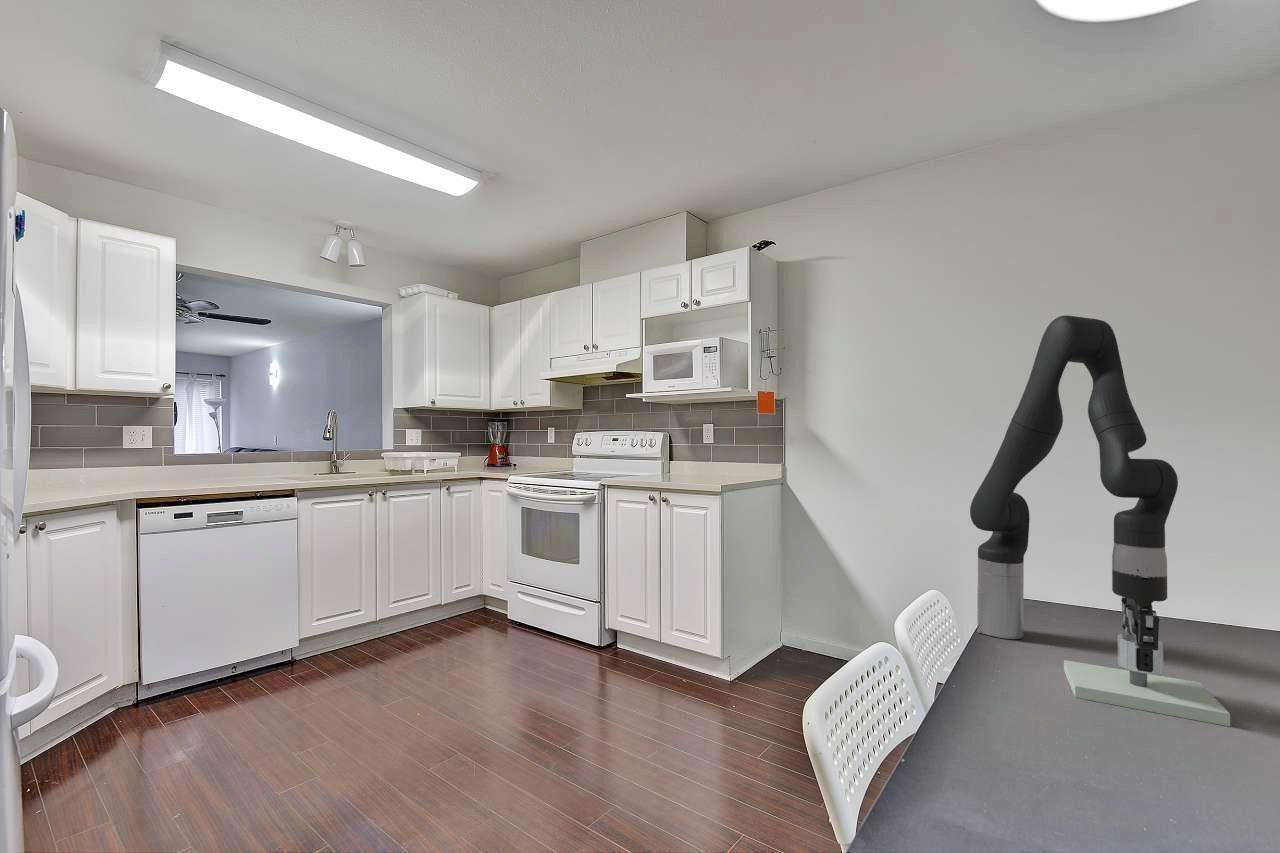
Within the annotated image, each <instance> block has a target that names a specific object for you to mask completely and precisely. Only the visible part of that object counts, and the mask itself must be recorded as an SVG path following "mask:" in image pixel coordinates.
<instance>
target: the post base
mask: <svg viewBox="0 0 1280 853" xmlns="http://www.w3.org/2000/svg"><path fill="white" fill-rule="evenodd" d="M1063 671H1064V673H1065V677H1066V678H1067V681H1068V683H1069V686H1070V688H1071V691H1072V693H1073V695H1074V698H1077V699H1081V700H1083V699H1084V700H1088V701H1093V702H1099V703H1103V704H1109V705H1114V706H1119V707H1124V708H1131V709H1135V710H1140V711H1146V712H1151V713H1157V714H1162V715H1167V716H1172V717H1178V718H1183V719H1189V720H1194V721H1199V722H1204V723H1210V724H1214V725H1215V724H1216V725H1219V726H1226V727H1231V714H1230V712H1229V711H1228V710H1227V709H1226V708H1225V706H1223V705H1222V703H1220V702H1219V701H1218V700H1217V698H1215V697H1214V696H1213V694H1212V693H1211V692H1210V691H1209V690H1208V689H1207V688H1206V687H1205V686H1204V685H1203V684H1202V682H1200V681H1199V682H1198V681H1193V680H1188V679H1180V678H1174V677H1170V676H1169V677H1168V676H1163V675H1159V674H1145V673H1139V672H1135V671H1132V670H1128V669H1126V670H1125V669H1122V668H1121V669H1120V668H1116V667H1115V668H1114V667H1107V666H1102V665H1097V664H1090V663H1083V662H1078V661H1072V660H1066V659H1064V660H1063Z"/></svg>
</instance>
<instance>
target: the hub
mask: <svg viewBox="0 0 1280 853" xmlns="http://www.w3.org/2000/svg"><path fill="white" fill-rule="evenodd" d="M1143 641H1145V642H1149V638H1148V637H1147V636H1144V637H1143ZM1158 647H1159V648H1158V651H1156V650H1155V651H1153V671H1152V672H1145V671H1139V670H1138V669H1137V668H1136V647H1135V638H1134V635H1132V634H1125V633H1120V634H1117V664H1118V666H1120V667H1122V668H1123V669H1126V670H1128V671H1130V670H1132V671H1135V672H1139V673H1145V674H1152V675H1162V674H1163V673H1164V643H1163V642H1162V641H1161V640H1159V639H1158Z"/></svg>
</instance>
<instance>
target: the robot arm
mask: <svg viewBox="0 0 1280 853" xmlns="http://www.w3.org/2000/svg"><path fill="white" fill-rule="evenodd" d="M1119 350H1120V349H1119V346H1118V342H1117V337H1116V335H1115V332H1114V330H1113V328H1112V326H1111V325H1110V324H1109V323H1108V322H1106V321H1104V320H1101V319H1098V318H1097V319H1096V318H1089V317H1082V316H1075V315H1066V314H1065V315H1060V316H1057V317H1056V318H1054V319H1053V320H1052V321H1051V322H1050V323H1049V324H1048V326H1047V328H1046V329H1045V331H1044V332H1043V335H1042V336H1041V340H1040V342H1039V346H1038V350H1037V352H1036V356H1035V359H1034V361H1033V366H1032V368H1031V372H1030V375H1029V378H1028V381H1027V383H1026V386H1025V387H1024V391H1023V394H1022V395H1021V398H1020V401H1019V402H1018V405H1017V407H1016V409H1015V411H1014V414H1013V416H1012V418H1011V421H1010V423H1009V425H1008V427H1007V429H1006V431H1005V435H1004V438H1003V439H1002V442H1001V445H1000V446H999V449H998V451H997V454H996V455H995V457H994V459H993V462H992V464H991V466H990V468H989V470H988V472H987V474H986V475H985V477H984V479H983V481H982V482H981V484H980V486H979V487H978V489H977V491H976V493H975V494H974V496H973V498H972V500H971V504H970V508H969V514H970V515H969V516H970V519H971V523H972V524H973V525H974V526H975V527H976V528H977V529H979V530H981V531H985V532H992V534H991V536H990V537H989V539H987V540H986V541H985V542H983V543H982V544H980V545H979V546H978V548H977V595H976V596H977V599H976V600H977V601H976V602H977V603H976V604H977V608H976V611H977V613H976V614H977V615H976V616H977V617H976V619H977V620H976V621H977V622H976V623H977V625H976V628H978V626H979V625H980V626H979V628H978V630H977V633H978V634H984V635H986V636H990V637H994V638H999V639H1003V640H1006V639H1007V640H1019V639H1023V637H1024V597H1025V596H1024V593H1025V592H1024V587H1025V586H1024V580H1025V578H1024V575H1025V574H1024V569H1025V568H1024V563H1025V561H1024V559H1025V554H1026V553H1027V550H1028V546H1029V536H1030V509H1029V505H1028V503H1027V500H1026V499H1025V498H1024V497H1023V496H1022V495H1021V494H1019V493H1017V492H1014V491H1015V489H1016V488H1017V487H1018V484H1020V482H1021V481H1022V480H1023V479H1024V478H1025V477H1026V476H1027V475H1028V474H1029V473H1030V472H1031V471H1032V470H1034V469H1035V468H1036V467H1037V466H1038V465H1039V464H1040V463H1041V462H1042V461H1044V459H1045V458H1046V457H1047V456H1048V455H1049V454H1050V452H1051V451H1052V449H1053V447H1054V445H1055V444H1056V441H1057V439H1058V437H1059V435H1060V433H1061V430H1062V428H1063V422H1064V416H1063V408H1062V403H1061V399H1060V392H1059V388H1060V382H1061V379H1062V376H1063V373H1064V371H1065V368H1066V366H1067V365H1068V363H1069V362H1070V363H1078V364H1083V365H1084V367H1086V369H1087V371H1088V372H1089V375H1090V376H1091V379H1092V389H1091V394H1090V396H1089V401H1088V405H1087V415H1088V419H1089V423H1090V425H1091V427H1092V431H1093V432H1094V433H1093V434H1094V435H1095V438H1096V440H1097V443H1098V448H1099V464H1100V465H1099V468H1100V469H1099V472H1100V474H1099V475H1100V480H1101V483H1102V485H1103V487H1104V488H1105V489H1106V491H1107V492H1108V493H1110V494H1111V495H1113V496H1115V497H1118V498H1127V499H1130V498H1131V499H1138V500H1137V502H1136V505H1135V506H1134V507H1133V508H1130V509H1126V510H1121V511H1119V512H1116V513H1115V515H1114V517H1113V547H1112V553H1111V587H1112V588H1111V589H1112V592H1113V593H1114V594H1115V595H1116V596H1119V597H1121V600H1120V601H1121V610H1122V612H1121V613H1122V625H1121V627H1122V630H1123V631H1124V633H1123V634H1132V635H1134V638H1135V647H1136V668H1137V669H1138V670H1139V671H1145V672H1152V671H1153V651H1155V650H1156V651H1158V648H1159V647H1158V640H1159V632H1160V631H1159V630H1160V618H1159V616H1158V614H1157V612H1156V610H1153V603H1154V602H1159V603H1160V602H1165V601H1166V600H1167V599H1168V559H1167V558H1168V557H1167V553H1166V528H1165V526H1166V522H1167V519H1168V518H1169V514H1170V512H1171V509H1172V505H1173V502H1174V501H1175V497H1176V494H1177V490H1178V485H1179V481H1178V480H1179V479H1178V475H1177V473H1176V470H1175V468H1174V467H1173V466H1172V465H1171V464H1170V463H1169V462H1167V461H1165V460H1163V459H1158V458H1131V457H1130V455H1129V453H1131V452H1135V451H1137V450H1140V449H1141V448H1143V447H1145V445H1146V443H1147V441H1148V440H1147V435H1146V432H1145V430H1144V429H1145V428H1144V427H1143V425H1142V423H1141V421H1140V419H1139V416H1138V414H1137V411H1136V409H1135V408H1134V405H1133V403H1132V401H1131V397H1130V395H1129V392H1128V387H1127V385H1126V379H1125V374H1124V369H1123V366H1122V360H1121V356H1120V351H1119ZM1144 636H1146V637H1148V638H1149V642H1145V641H1143V637H1144Z"/></svg>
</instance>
